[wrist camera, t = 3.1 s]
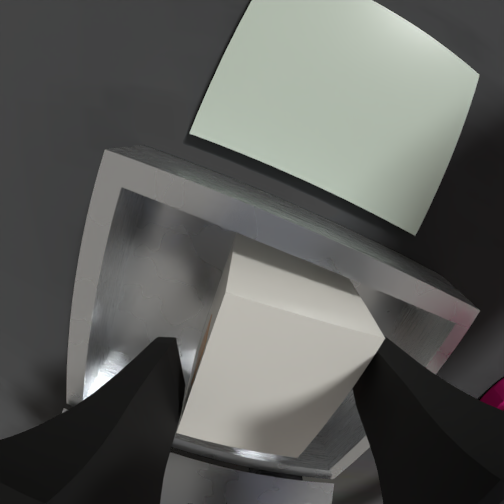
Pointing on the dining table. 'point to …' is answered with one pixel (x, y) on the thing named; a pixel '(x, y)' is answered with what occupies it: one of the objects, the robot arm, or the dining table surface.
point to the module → (276, 352)
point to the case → (207, 280)
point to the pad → (341, 102)
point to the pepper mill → (495, 395)
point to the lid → (234, 486)
